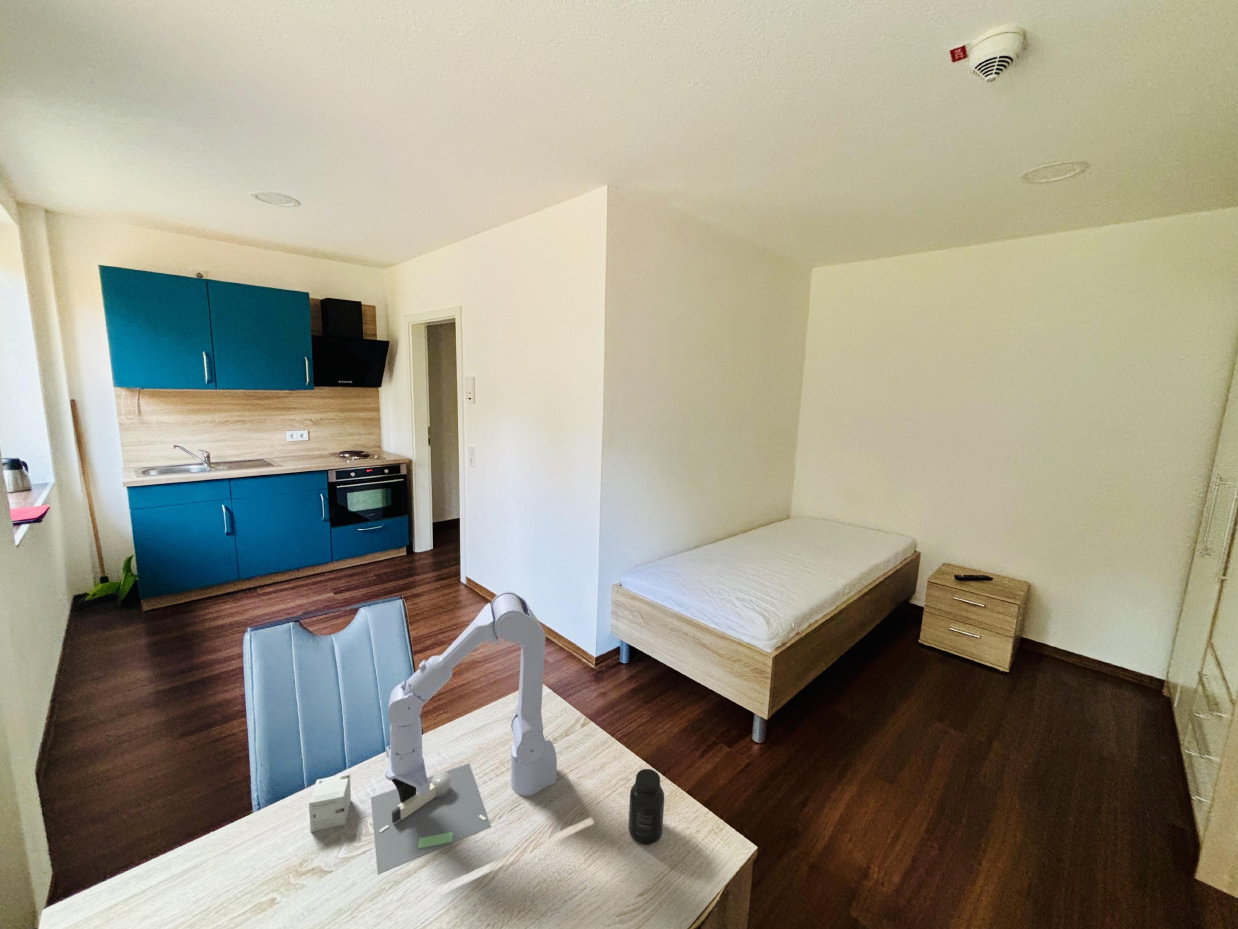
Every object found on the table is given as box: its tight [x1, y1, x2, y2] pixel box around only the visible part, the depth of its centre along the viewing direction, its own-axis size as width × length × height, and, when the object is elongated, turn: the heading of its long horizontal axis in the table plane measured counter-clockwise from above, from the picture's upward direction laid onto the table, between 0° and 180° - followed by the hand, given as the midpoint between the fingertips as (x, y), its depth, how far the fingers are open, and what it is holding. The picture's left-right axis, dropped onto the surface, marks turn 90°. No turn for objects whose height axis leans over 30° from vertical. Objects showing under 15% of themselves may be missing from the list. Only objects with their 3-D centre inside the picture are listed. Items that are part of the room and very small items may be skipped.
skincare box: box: [308, 773, 352, 833], centre depth 96 cm, size 6×6×7 cm
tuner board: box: [370, 763, 492, 875], centre depth 98 cm, size 20×18×1 cm
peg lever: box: [392, 771, 450, 824], centre depth 100 cm, size 12×4×3 cm, turn 141°
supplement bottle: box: [628, 768, 665, 846], centre depth 96 cm, size 7×7×12 cm
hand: (408, 803), depth 99 cm, fingers closed, pressing on peg lever
